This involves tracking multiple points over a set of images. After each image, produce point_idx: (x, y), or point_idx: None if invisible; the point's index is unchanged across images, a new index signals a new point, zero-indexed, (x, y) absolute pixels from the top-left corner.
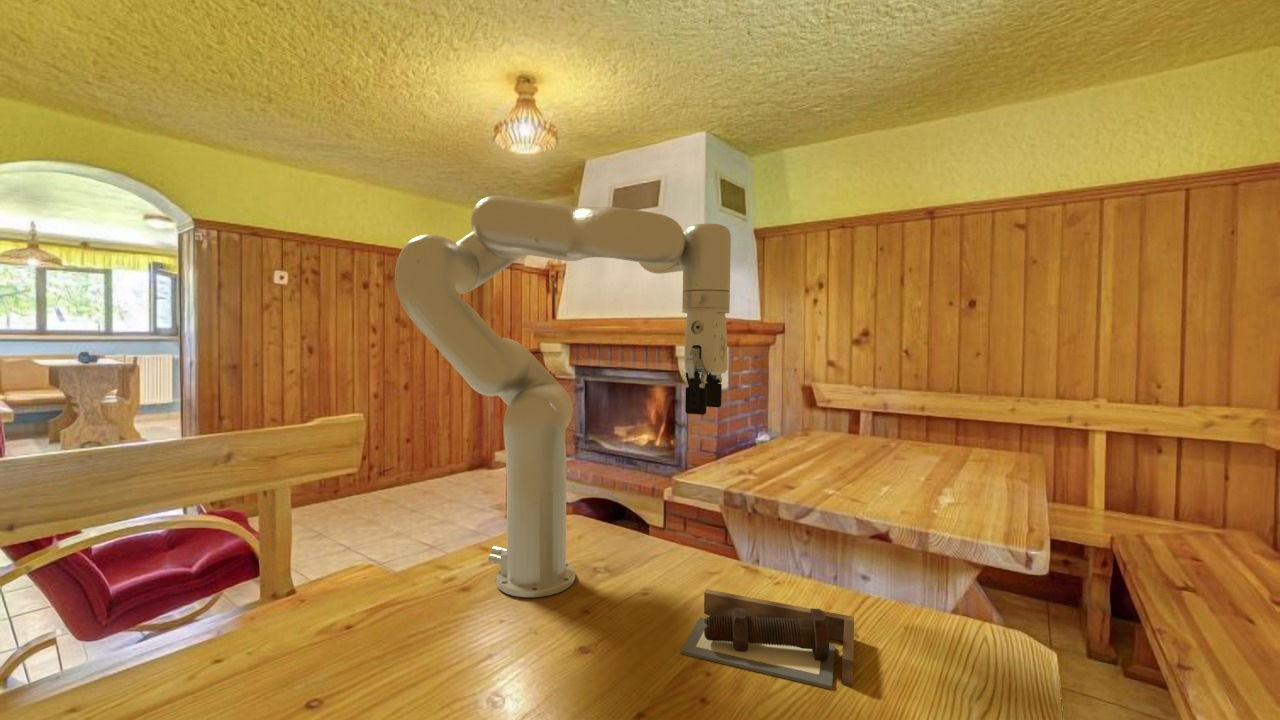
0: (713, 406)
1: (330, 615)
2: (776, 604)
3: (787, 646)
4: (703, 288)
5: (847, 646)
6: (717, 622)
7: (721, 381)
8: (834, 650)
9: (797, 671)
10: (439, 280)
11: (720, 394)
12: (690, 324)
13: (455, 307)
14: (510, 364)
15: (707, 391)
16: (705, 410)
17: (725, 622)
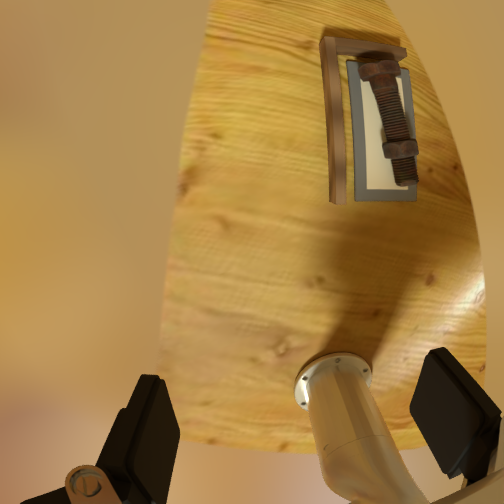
0: (168, 399)
1: (412, 434)
2: (337, 115)
3: (373, 103)
4: None
5: (386, 48)
6: (416, 170)
7: (74, 469)
8: (356, 62)
9: (404, 95)
10: None
11: (141, 419)
12: None
13: None
14: None
15: (162, 472)
16: (449, 352)
17: (414, 162)
